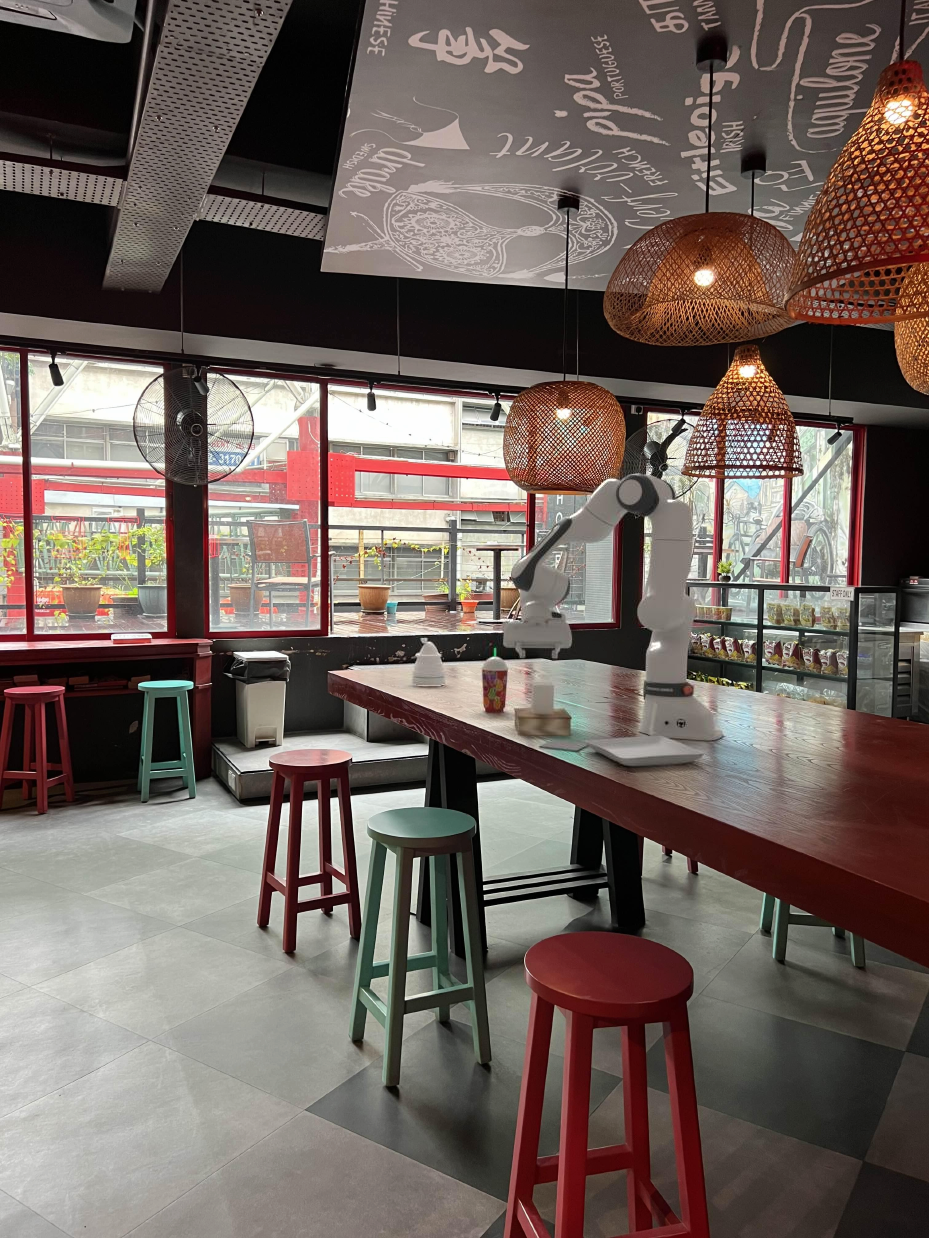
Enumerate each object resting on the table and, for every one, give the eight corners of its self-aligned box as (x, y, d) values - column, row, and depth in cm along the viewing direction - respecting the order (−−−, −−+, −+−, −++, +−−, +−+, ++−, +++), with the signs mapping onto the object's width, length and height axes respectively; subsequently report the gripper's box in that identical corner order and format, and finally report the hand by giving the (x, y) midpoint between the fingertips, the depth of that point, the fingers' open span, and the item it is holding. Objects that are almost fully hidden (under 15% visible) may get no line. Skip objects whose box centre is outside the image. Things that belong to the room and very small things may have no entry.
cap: (550, 710, 241) (551, 682, 240) (553, 714, 235) (553, 685, 235) (531, 710, 241) (531, 682, 240) (532, 714, 235) (533, 684, 235)
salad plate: (621, 771, 191) (622, 756, 191) (583, 752, 211) (583, 738, 211) (706, 767, 197) (706, 752, 196) (661, 748, 217) (661, 735, 217)
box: (564, 725, 246) (564, 698, 245) (571, 735, 231) (571, 705, 231) (513, 725, 245) (514, 697, 245) (517, 734, 231) (518, 705, 231)
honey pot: (410, 686, 327) (410, 639, 326) (413, 682, 340) (414, 637, 339) (444, 687, 327) (444, 640, 326) (446, 682, 339) (446, 637, 338)
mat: (591, 744, 219) (591, 743, 219) (576, 751, 210) (576, 750, 210) (554, 740, 223) (554, 739, 223) (539, 747, 215) (539, 745, 215)
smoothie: (508, 709, 274) (509, 647, 273) (506, 713, 266) (507, 649, 265) (482, 709, 275) (482, 646, 274) (480, 713, 266) (480, 648, 265)
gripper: (501, 613, 256) (503, 649, 246) (570, 614, 256) (574, 650, 247) (500, 627, 260) (502, 663, 251) (568, 628, 261) (572, 663, 251)
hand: (538, 656), depth 249 cm, fingers open, 8 cm apart
